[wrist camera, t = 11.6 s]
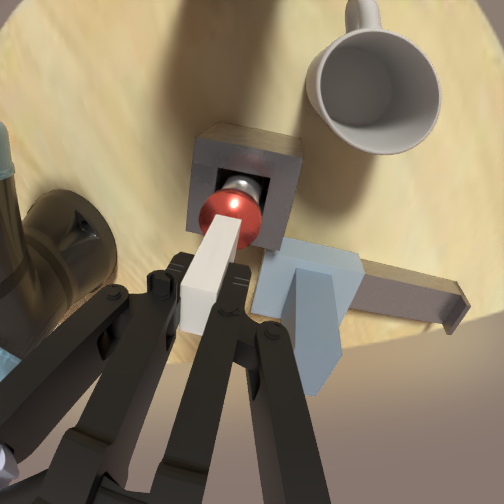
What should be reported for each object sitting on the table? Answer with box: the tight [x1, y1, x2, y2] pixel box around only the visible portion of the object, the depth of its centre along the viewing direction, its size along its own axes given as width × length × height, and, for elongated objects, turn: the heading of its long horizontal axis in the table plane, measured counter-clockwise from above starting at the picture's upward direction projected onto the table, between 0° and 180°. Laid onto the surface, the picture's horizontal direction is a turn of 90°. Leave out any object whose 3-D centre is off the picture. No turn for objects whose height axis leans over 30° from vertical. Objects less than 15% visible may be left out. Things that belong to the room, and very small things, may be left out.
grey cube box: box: [186, 122, 304, 251], centre depth 27 cm, size 8×8×8 cm
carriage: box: [251, 237, 365, 396], centre depth 29 cm, size 10×8×14 cm
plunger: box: [199, 170, 264, 250], centre depth 24 cm, size 4×4×9 cm
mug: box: [306, 0, 441, 155], centre depth 19 cm, size 12×8×11 cm
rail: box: [256, 248, 471, 335], centre depth 34 cm, size 26×5×5 cm, turn 80°
